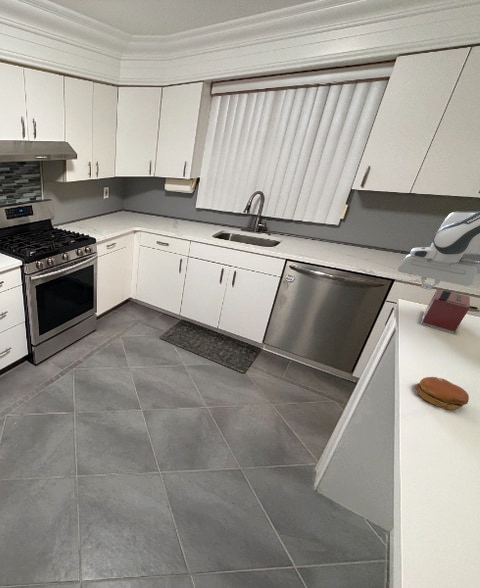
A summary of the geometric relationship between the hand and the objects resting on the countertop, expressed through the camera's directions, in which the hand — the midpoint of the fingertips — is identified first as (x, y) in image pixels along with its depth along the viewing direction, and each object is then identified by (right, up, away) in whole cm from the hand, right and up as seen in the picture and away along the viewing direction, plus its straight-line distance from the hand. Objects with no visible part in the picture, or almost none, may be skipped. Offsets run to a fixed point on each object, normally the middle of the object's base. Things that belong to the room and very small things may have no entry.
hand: (425, 288), depth 120 cm
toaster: (+9, -13, +4) cm, 17 cm away
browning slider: (+4, -4, -3) cm, 6 cm away
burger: (-35, -31, -35) cm, 59 cm away
